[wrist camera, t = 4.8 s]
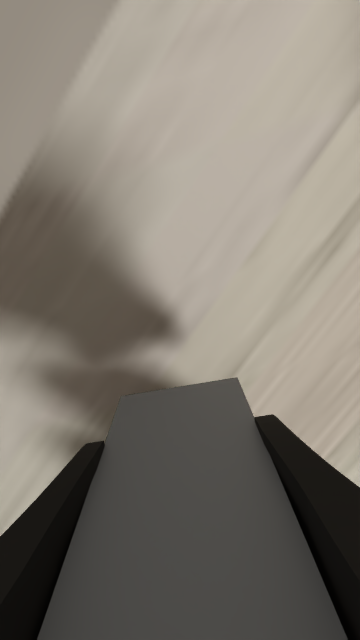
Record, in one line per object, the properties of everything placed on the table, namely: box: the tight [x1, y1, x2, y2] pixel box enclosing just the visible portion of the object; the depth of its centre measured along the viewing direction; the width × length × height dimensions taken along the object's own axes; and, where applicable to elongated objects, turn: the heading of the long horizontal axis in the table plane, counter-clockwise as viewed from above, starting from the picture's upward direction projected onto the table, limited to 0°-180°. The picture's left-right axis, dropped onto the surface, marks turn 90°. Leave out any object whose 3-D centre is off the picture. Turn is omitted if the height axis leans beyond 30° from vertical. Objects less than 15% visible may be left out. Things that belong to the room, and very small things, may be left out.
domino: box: [37, 377, 348, 640], centre depth 8 cm, size 2×5×9 cm, turn 100°
